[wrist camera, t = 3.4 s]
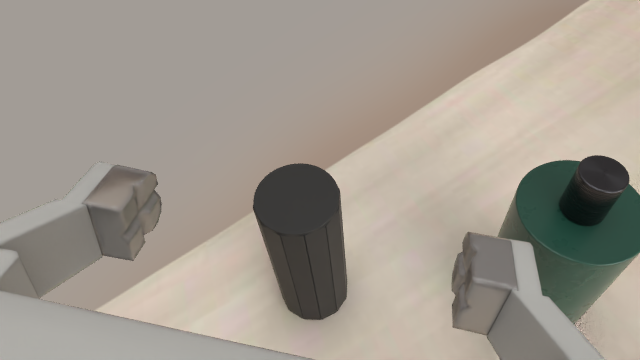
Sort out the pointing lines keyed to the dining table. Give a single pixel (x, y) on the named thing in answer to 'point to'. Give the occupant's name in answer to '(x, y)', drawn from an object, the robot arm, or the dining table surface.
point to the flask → (576, 228)
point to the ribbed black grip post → (304, 237)
